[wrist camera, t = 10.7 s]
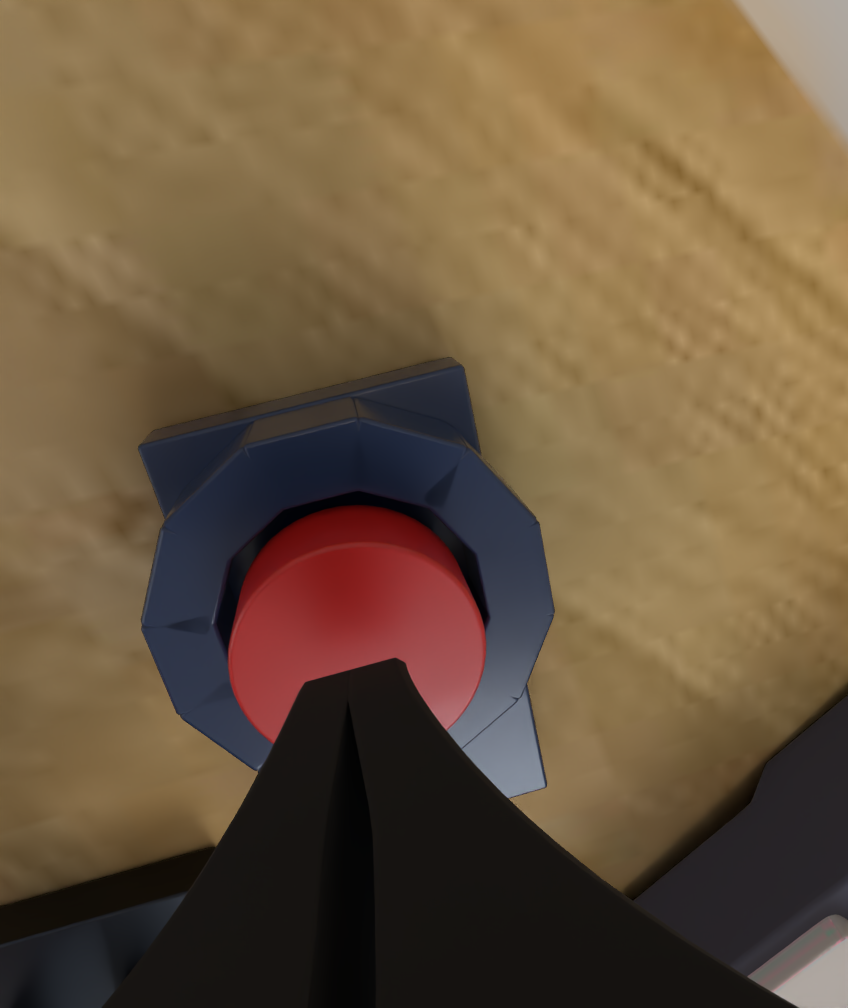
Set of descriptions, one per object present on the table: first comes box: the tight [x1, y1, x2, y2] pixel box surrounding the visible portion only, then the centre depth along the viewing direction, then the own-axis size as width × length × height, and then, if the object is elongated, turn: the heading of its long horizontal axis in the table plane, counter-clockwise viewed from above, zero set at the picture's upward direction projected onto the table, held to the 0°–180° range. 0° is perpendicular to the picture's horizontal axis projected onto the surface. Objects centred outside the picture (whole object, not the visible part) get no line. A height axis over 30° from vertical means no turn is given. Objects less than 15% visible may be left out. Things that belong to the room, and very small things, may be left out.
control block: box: [138, 357, 555, 799], centre depth 14 cm, size 10×7×3 cm
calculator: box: [633, 695, 848, 1008], centre depth 19 cm, size 11×4×15 cm
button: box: [228, 505, 486, 744], centre depth 12 cm, size 4×4×2 cm
